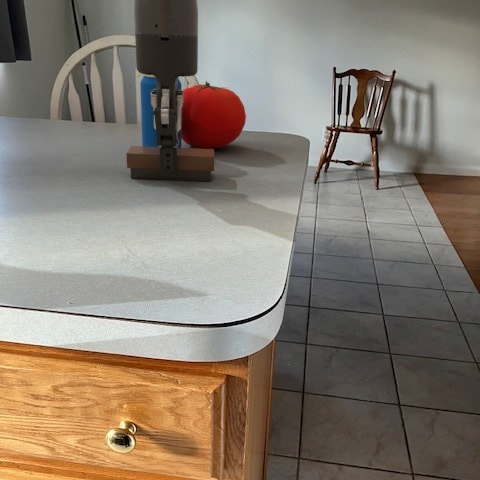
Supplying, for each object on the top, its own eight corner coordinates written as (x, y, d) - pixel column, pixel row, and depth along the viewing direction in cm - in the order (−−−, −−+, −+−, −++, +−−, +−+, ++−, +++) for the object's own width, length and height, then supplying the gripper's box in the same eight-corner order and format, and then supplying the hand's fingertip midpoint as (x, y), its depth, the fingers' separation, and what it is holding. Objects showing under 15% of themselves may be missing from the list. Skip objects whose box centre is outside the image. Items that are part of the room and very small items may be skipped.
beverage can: (159, 158, 87) (158, 77, 81) (134, 151, 91) (131, 73, 85) (189, 153, 91) (189, 76, 85) (164, 147, 95) (163, 72, 89)
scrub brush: (127, 178, 75) (126, 153, 74) (132, 170, 80) (130, 145, 78) (213, 182, 76) (214, 156, 74) (213, 173, 81) (214, 149, 79)
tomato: (168, 139, 101) (168, 77, 96) (232, 139, 104) (235, 79, 99) (182, 155, 90) (182, 86, 84) (253, 155, 93) (257, 88, 88)
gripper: (140, 29, 71) (145, 163, 79) (128, 30, 59) (135, 187, 67) (198, 32, 71) (197, 165, 79) (197, 33, 60) (195, 189, 68)
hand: (168, 175), depth 73 cm, fingers closed
